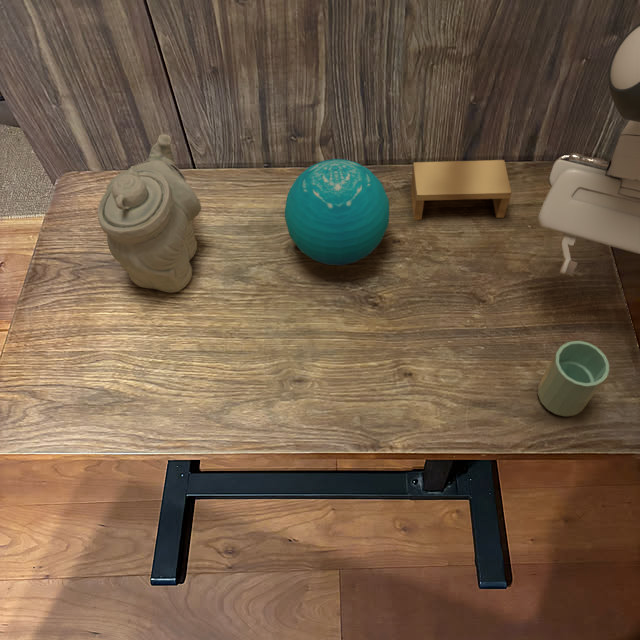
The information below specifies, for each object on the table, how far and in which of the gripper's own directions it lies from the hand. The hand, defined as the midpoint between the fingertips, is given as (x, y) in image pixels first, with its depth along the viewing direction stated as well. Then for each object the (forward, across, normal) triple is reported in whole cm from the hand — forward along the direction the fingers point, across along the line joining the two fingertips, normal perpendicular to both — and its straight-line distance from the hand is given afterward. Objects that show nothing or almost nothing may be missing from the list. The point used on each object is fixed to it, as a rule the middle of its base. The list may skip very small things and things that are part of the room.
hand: (606, 286), depth 75 cm
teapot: (+14, -60, +4) cm, 62 cm away
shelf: (-4, -22, +22) cm, 32 cm away
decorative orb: (+7, -36, +11) cm, 39 cm away
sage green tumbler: (+15, 0, +2) cm, 15 cm away
